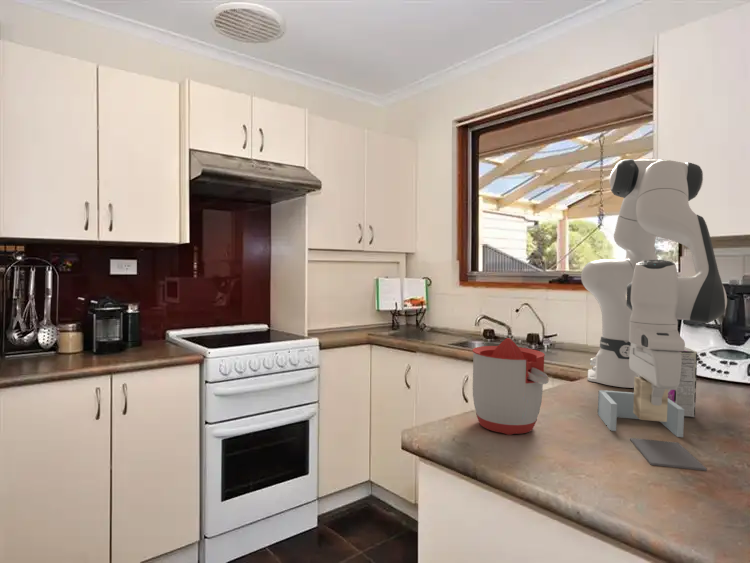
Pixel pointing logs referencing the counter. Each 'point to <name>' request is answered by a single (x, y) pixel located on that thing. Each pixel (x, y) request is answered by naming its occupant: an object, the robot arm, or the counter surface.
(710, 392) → the counter surface
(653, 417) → the birch block
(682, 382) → the candy bar box
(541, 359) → the citrus juicer
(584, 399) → the counter surface
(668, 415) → the open-side box
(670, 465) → the charcoal mat
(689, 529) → the counter surface
